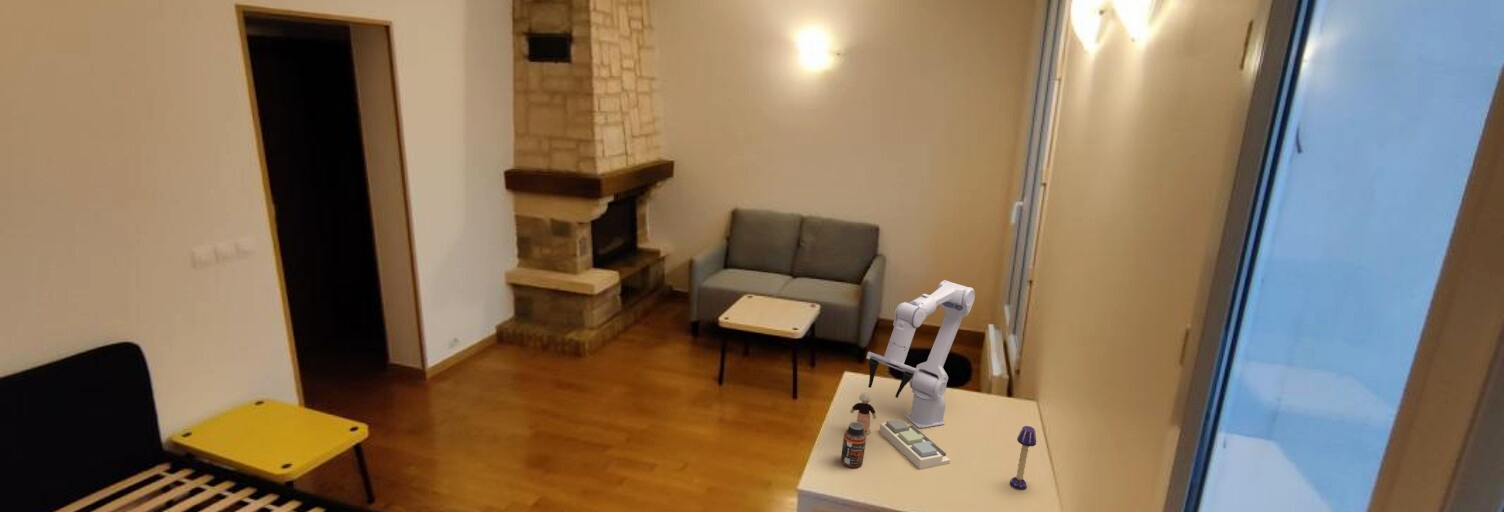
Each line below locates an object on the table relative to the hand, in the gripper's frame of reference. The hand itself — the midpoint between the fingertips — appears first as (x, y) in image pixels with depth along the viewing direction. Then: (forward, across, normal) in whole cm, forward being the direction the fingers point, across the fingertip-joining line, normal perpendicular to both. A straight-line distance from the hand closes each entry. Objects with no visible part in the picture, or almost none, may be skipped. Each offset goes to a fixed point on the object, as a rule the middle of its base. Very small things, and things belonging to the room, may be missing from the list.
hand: (882, 392), depth 194 cm
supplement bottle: (+21, -2, -3) cm, 21 cm away
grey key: (+10, +7, +14) cm, 18 cm away
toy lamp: (+11, +41, +3) cm, 42 cm away
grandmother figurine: (+15, -3, +14) cm, 20 cm away
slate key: (+12, +15, +4) cm, 20 cm away
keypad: (+13, +13, +11) cm, 21 cm away
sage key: (+11, +11, +9) cm, 18 cm away
